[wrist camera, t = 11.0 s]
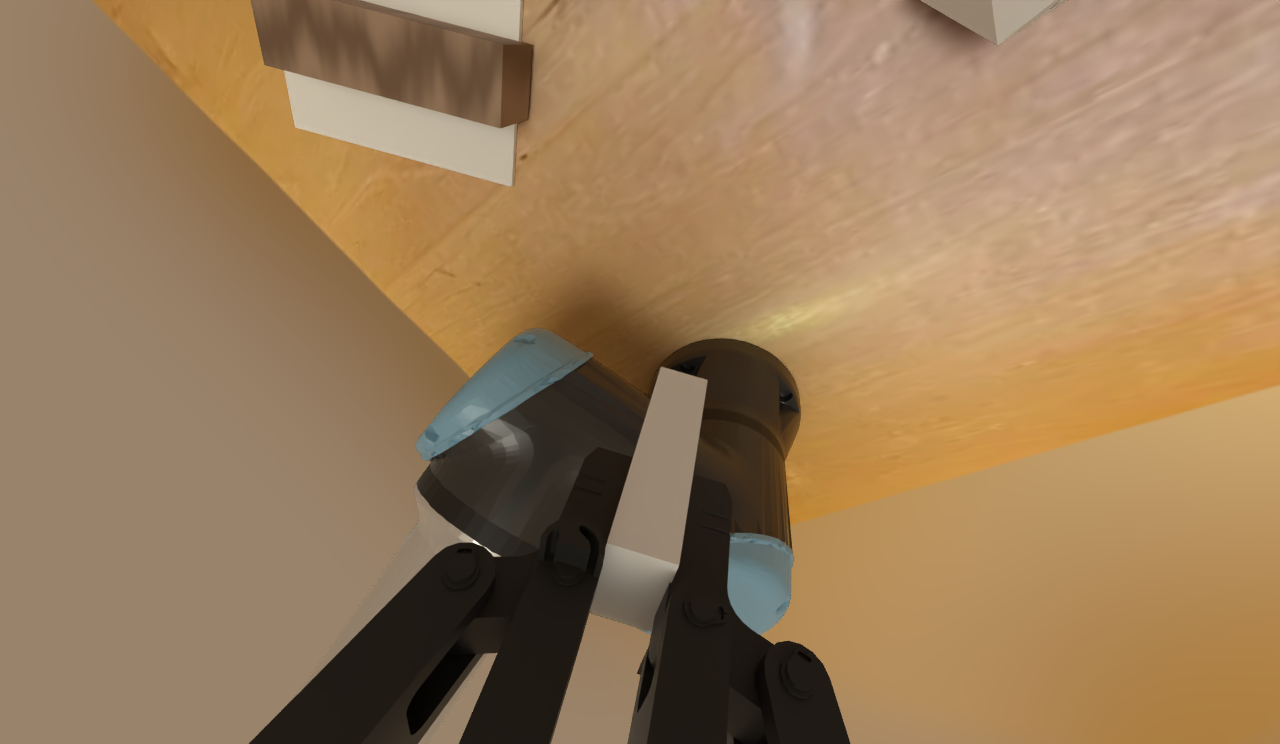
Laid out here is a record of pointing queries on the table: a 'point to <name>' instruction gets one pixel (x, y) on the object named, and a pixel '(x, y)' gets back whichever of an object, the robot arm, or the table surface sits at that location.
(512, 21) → the mat
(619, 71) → the table surface
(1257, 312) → the table surface
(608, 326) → the table surface
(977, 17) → the die
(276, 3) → the walnut block
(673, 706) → the robot arm
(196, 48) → the table surface
